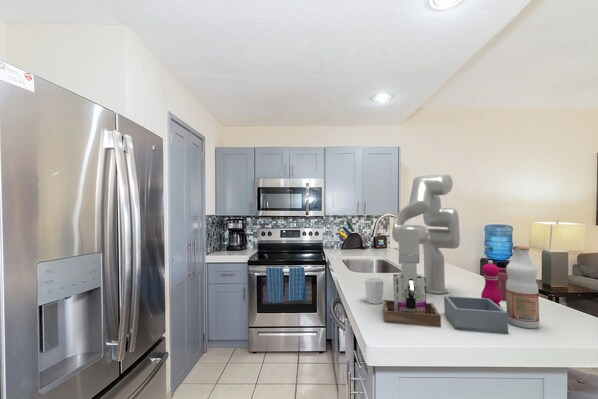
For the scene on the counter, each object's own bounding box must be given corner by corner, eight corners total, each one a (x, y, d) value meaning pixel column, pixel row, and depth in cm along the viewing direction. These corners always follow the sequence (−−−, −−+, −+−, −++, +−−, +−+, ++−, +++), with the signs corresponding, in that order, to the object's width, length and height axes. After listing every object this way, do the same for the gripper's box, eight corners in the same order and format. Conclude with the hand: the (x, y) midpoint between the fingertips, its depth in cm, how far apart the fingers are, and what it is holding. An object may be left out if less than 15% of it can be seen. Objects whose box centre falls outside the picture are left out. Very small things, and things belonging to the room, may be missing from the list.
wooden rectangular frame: (383, 309, 122) (383, 300, 122) (432, 313, 117) (432, 303, 117) (385, 322, 108) (385, 311, 108) (441, 327, 104) (440, 315, 104)
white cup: (384, 300, 135) (383, 278, 135) (383, 305, 127) (382, 282, 128) (366, 298, 137) (366, 277, 138) (364, 303, 130) (364, 280, 130)
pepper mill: (505, 311, 120) (504, 262, 120) (485, 310, 121) (484, 261, 122) (497, 305, 127) (495, 259, 127) (478, 304, 128) (477, 258, 129)
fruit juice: (500, 320, 110) (498, 245, 111) (520, 318, 112) (518, 244, 113) (525, 330, 101) (522, 248, 102) (546, 327, 103) (543, 247, 104)
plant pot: (481, 295, 141) (480, 269, 142) (499, 292, 147) (498, 266, 147) (513, 304, 128) (512, 275, 129) (531, 300, 134) (531, 272, 134)
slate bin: (444, 313, 117) (444, 295, 117) (489, 316, 113) (489, 298, 114) (455, 329, 102) (455, 309, 102) (508, 333, 98) (507, 312, 98)
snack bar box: (421, 315, 115) (420, 273, 116) (427, 320, 110) (426, 276, 111) (393, 315, 115) (392, 273, 116) (397, 320, 110) (397, 276, 111)
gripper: (396, 254, 123) (397, 298, 122) (401, 262, 106) (401, 312, 105) (415, 255, 121) (416, 299, 120) (423, 263, 104) (424, 314, 104)
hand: (409, 305), depth 113 cm, fingers open, 6 cm apart
